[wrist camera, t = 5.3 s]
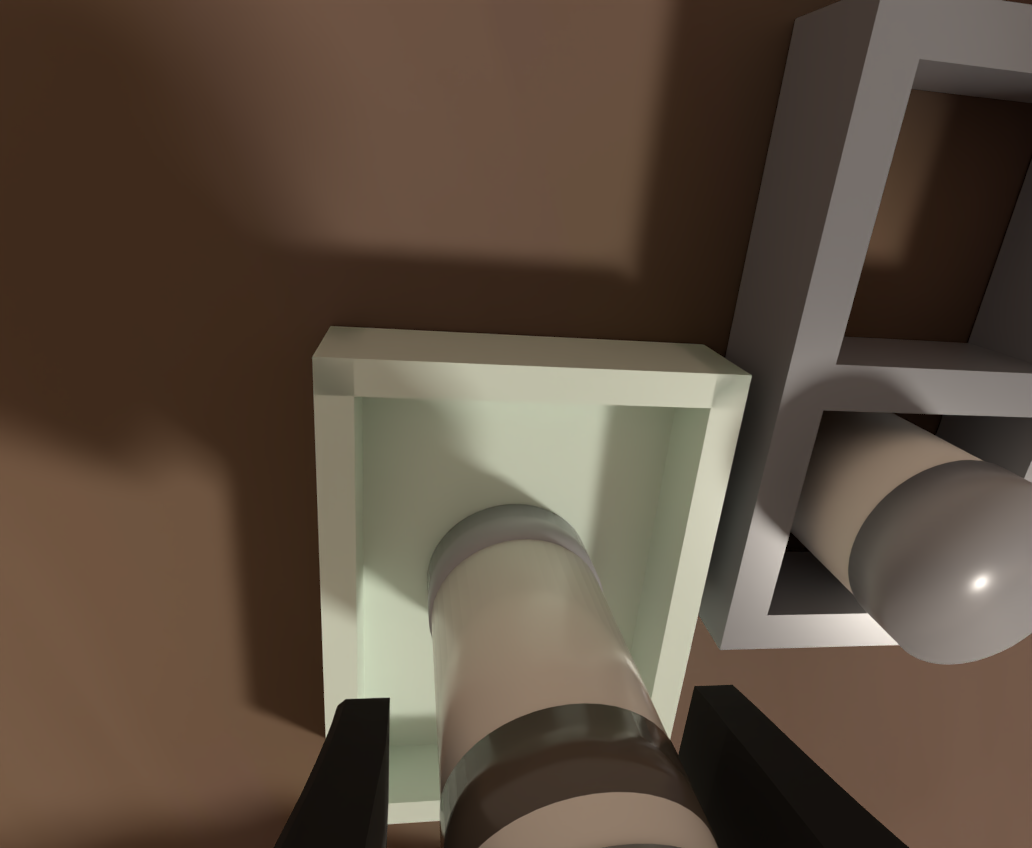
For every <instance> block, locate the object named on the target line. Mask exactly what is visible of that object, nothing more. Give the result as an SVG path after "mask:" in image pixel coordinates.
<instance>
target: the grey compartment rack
mask: <svg viewBox="0 0 1032 848" xmlns="http://www.w3.org/2000/svg"><path fill="white" fill-rule="evenodd" d="M911 89H916V90H924V91H933V92H941V93H950V94H958V95H966V96H975V97H983V98H991V99H1000V100H1008V101H1016V102H1025V103H1032V5H1030V4H1023V3H1016V2H1010V1H1003V0H841V1H838V2H836V3H833V4H831V5H828V6H826V7H823V8H821V9H818V10H816V11H813V12H811V13H808V14H806V15H803V16H801V17H798V18H796V19H795V23H794V28H793V33H792V38H791V43H790V47H789V52H788V57H787V62H786V67H785V72H784V76H783V81H782V86H781V91H780V96H779V101H778V105H777V110H776V115H775V120H774V125H773V129H772V134H771V139H770V144H769V149H768V154H767V158H766V163H765V168H764V173H763V178H762V182H761V187H760V192H759V197H758V202H757V207H756V211H755V216H754V221H753V226H752V231H751V236H750V240H749V245H748V250H747V255H746V260H745V264H744V269H743V274H742V279H741V284H740V289H739V293H738V298H737V303H736V308H735V313H734V317H733V322H732V327H731V332H730V337H729V342H728V346H727V351H726V356H725V358H726V359H727V360H729V361H730V362H732V363H733V364H735V365H737V366H738V367H740V368H741V369H743V370H744V371H746V372H748V373H749V374H751V375H752V378H751V382H750V387H749V391H748V396H747V400H746V404H745V409H744V413H743V418H742V422H741V427H740V431H739V435H738V440H737V444H736V449H735V453H734V458H733V462H732V466H731V471H730V475H729V480H728V484H727V489H726V493H725V498H724V502H723V506H722V511H721V515H720V520H719V524H718V529H717V533H716V537H715V542H714V546H713V551H712V555H711V560H710V564H709V568H708V573H707V577H706V582H705V586H704V591H703V595H702V599H701V604H700V608H699V613H698V615H699V616H700V618H701V620H702V621H703V623H704V625H705V626H706V628H707V630H708V631H709V633H710V634H711V636H712V638H713V639H714V641H715V643H716V644H717V646H718V648H719V649H720V650H732V649H768V648H805V647H841V646H877V645H900V646H901V647H902V648H903V649H904V650H905V651H906V652H908V653H909V654H910V655H912V656H914V657H916V658H918V659H920V660H923V661H927V662H930V663H936V664H962V663H968V662H973V661H977V660H980V659H984V658H987V657H990V656H992V655H995V654H997V653H999V652H1001V651H1003V650H1005V649H1007V648H1009V647H1011V646H1013V645H1015V644H1016V643H1018V642H1020V641H1021V640H1023V639H1024V638H1026V637H1027V636H1028V635H1030V634H1031V633H1032V160H1031V163H1030V166H1029V168H1028V171H1027V174H1026V177H1025V180H1024V183H1023V186H1022V189H1021V192H1020V194H1019V197H1018V200H1017V203H1016V206H1015V209H1014V212H1013V215H1012V217H1011V220H1010V223H1009V226H1008V229H1007V232H1006V235H1005V238H1004V241H1003V243H1002V246H1001V249H1000V252H999V255H998V258H997V261H996V264H995V266H994V269H993V272H992V275H991V278H990V281H989V284H988V287H987V289H986V292H985V295H984V298H983V301H982V304H981V307H980V310H979V313H978V315H977V318H976V321H975V324H974V327H973V330H972V333H971V336H970V338H969V341H968V343H958V342H939V341H921V340H902V339H883V338H864V337H845V336H844V333H845V330H846V326H847V322H848V319H849V315H850V311H851V308H852V304H853V300H854V297H855V293H856V289H857V286H858V282H859V278H860V275H861V271H862V267H863V264H864V260H865V256H866V253H867V249H868V245H869V242H870V238H871V235H872V231H873V227H874V224H875V220H876V216H877V213H878V209H879V205H880V202H881V198H882V194H883V191H884V187H885V183H886V180H887V176H888V172H889V169H890V165H891V161H892V158H893V154H894V150H895V147H896V143H897V139H898V136H899V132H900V129H901V125H902V121H903V118H904V114H905V110H906V107H907V103H908V99H909V96H910V92H911ZM894 413H914V414H943V416H942V419H941V422H940V425H939V428H938V431H937V434H936V436H935V435H933V434H931V433H930V432H928V431H926V430H924V429H922V428H920V427H918V426H916V425H914V424H912V423H911V422H909V421H907V420H905V419H903V418H901V417H899V416H897V415H895V414H894ZM790 532H791V533H792V534H793V535H794V536H795V537H796V538H797V539H798V540H799V541H800V542H801V543H802V544H803V545H804V546H805V547H806V548H807V549H808V550H809V551H810V552H785V549H786V545H787V542H788V538H789V534H790Z"/></svg>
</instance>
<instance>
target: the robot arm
mask: <svg viewBox="0 0 1032 848" xmlns="http://www.w3.org/2000/svg"><path fill="white" fill-rule="evenodd" d="M389 733H390V697H389V698H361V699H345V700H344V701H343V702H341V703H340V704H339V705H338V706H337V708H336V711H335V714H334V718H333V721H332V724H331V726H330V729H329V731H328V734H327V737H326V739H325V742H324V744H323V747H322V749H321V751H320V754H319V756H318V758H317V761H316V763H315V765H314V767H313V770H312V772H311V774H310V776H309V778H308V780H307V783H306V785H305V787H304V789H303V791H302V793H301V795H300V797H299V799H298V801H297V803H296V805H295V807H294V809H293V811H292V813H291V815H290V817H289V819H288V821H287V823H286V825H285V827H284V829H283V831H282V833H281V835H280V837H279V838H278V840H277V842H276V844H275V846H274V848H386V845H387V825H388V804H389ZM678 756H679V758H680V761H681V763H682V765H683V767H684V769H685V772H686V774H687V776H688V778H689V780H690V783H691V785H692V787H693V789H694V791H695V794H696V796H697V798H698V800H699V802H700V804H701V807H702V809H703V811H704V813H705V815H706V818H707V820H708V822H709V824H710V826H711V829H712V831H713V833H714V835H715V837H716V841H717V844H718V847H719V848H909V847H908V846H907V845H905V844H904V843H903V842H902V841H901V840H900V839H898V838H897V837H896V836H895V835H894V834H893V833H892V832H890V831H889V830H888V829H887V828H886V827H885V826H884V825H883V824H881V823H880V822H879V821H878V820H877V819H876V818H875V817H873V816H872V815H871V814H870V813H869V812H868V811H867V810H866V809H865V808H863V807H862V806H861V805H860V804H859V803H858V802H857V801H856V800H855V799H854V798H852V797H851V796H850V795H849V794H848V793H847V792H846V791H845V790H844V789H843V788H842V787H840V786H839V785H838V784H837V783H836V782H835V781H834V780H833V779H832V778H831V777H830V776H829V775H828V774H826V773H825V772H824V771H823V770H822V769H821V768H820V767H819V766H818V765H817V764H816V763H815V762H814V761H813V760H812V759H810V758H809V757H808V756H807V755H806V754H805V753H804V752H803V751H802V750H801V749H800V748H799V747H798V746H797V745H796V744H795V743H794V742H793V741H791V740H790V739H789V738H788V737H787V736H786V735H785V734H784V733H783V732H782V731H781V730H780V729H779V728H778V727H777V726H776V725H775V724H774V723H773V722H772V721H771V720H770V719H768V718H767V717H766V716H765V715H764V714H763V713H762V712H761V711H760V710H759V709H758V708H757V707H756V706H755V705H754V704H753V703H752V702H751V701H749V700H748V699H747V698H746V697H745V696H744V695H743V694H742V693H741V692H740V691H739V690H738V689H736V688H735V687H734V686H733V685H717V686H695V687H694V691H693V695H692V699H691V704H690V708H689V712H688V716H687V721H686V725H685V729H684V733H683V738H682V742H681V746H680V750H679V755H678Z"/></svg>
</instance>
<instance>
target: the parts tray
mask: <svg viewBox="0 0 1032 848" xmlns="http://www.w3.org/2000/svg"><path fill="white" fill-rule="evenodd" d="M312 366H313V395H314V423H315V451H316V479H317V508H318V536H319V564H320V592H321V621H322V649H323V677H324V705H325V734H326V737H327V734H328V731H329V729H330V726H331V724H332V721H333V718H334V714H335V711H336V708H337V706H338V705H339V704H340V703H341V702H343V701H344V700H345V699H361V698H389V697H390V733H389V804H388V824H398V823H413V822H428V821H440V818H439V811H440V786H439V765H438V745H437V724H436V704H435V684H434V663H433V643H432V636H431V633H430V628H429V617H428V594H427V572H428V566H429V562H430V559H431V557H432V554H433V552H434V550H435V548H436V546H437V545H438V543H439V542H440V541H441V539H442V538H443V537H444V536H445V534H446V533H447V532H448V531H449V530H450V529H451V528H452V527H454V526H455V525H456V524H457V523H459V522H460V521H462V520H463V519H465V518H466V517H468V516H470V515H472V514H474V513H476V512H478V511H481V510H484V509H486V508H490V507H494V506H498V505H506V504H525V505H532V506H536V507H540V508H543V509H546V510H549V511H551V512H553V513H555V514H557V515H558V516H560V517H561V518H563V519H564V520H565V521H567V522H568V523H569V524H570V525H571V526H572V527H573V528H574V529H575V531H576V532H577V534H578V535H579V537H580V538H581V540H582V542H583V544H584V547H585V549H586V551H587V553H588V555H589V557H590V560H591V562H592V564H593V566H594V568H595V570H596V573H597V575H598V577H599V579H600V582H601V585H602V590H603V594H604V597H605V599H606V601H607V603H608V605H609V608H610V610H611V612H612V614H613V617H614V619H615V621H616V623H617V625H618V628H619V630H620V632H621V634H622V636H623V639H624V641H625V643H626V645H627V647H628V650H629V652H630V654H631V656H632V658H633V661H634V663H635V665H636V667H637V669H638V672H639V674H640V676H641V678H642V680H643V683H644V685H645V687H646V689H647V692H648V694H649V696H650V698H651V700H652V703H653V705H654V707H655V709H656V711H657V714H658V716H659V718H660V720H661V722H662V725H663V727H664V729H665V731H666V733H667V736H668V738H669V739H670V737H671V733H672V728H673V724H674V719H675V715H676V710H677V706H678V701H679V697H680V693H681V688H682V684H683V679H684V675H685V670H686V666H687V662H688V657H689V653H690V648H691V644H692V639H693V635H694V631H695V626H696V622H697V617H698V613H699V608H700V604H701V599H702V595H703V591H704V586H705V582H706V577H707V573H708V568H709V564H710V560H711V555H712V551H713V546H714V542H715V537H716V533H717V529H718V524H719V520H720V515H721V511H722V506H723V502H724V498H725V493H726V489H727V484H728V480H729V475H730V471H731V466H732V462H733V458H734V453H735V449H736V444H737V440H738V435H739V431H740V427H741V422H742V418H743V413H744V409H745V404H746V400H747V396H748V391H749V387H750V382H751V378H752V375H751V374H749V373H748V372H746V371H744V370H743V369H741V368H740V367H738V366H737V365H735V364H733V363H732V362H730V361H729V360H727V359H726V358H724V357H723V356H721V355H719V354H718V353H716V352H715V351H713V350H712V349H710V348H708V347H707V346H705V345H704V344H687V343H666V342H646V341H626V340H606V339H585V338H565V337H545V336H524V335H504V334H484V333H463V332H443V331H423V330H403V329H382V328H362V327H342V326H330V328H329V329H328V331H327V333H326V334H325V336H324V338H323V340H322V341H321V343H320V345H319V346H318V348H317V350H316V351H315V353H314V355H313V356H312Z"/></svg>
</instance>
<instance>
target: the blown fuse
mask: <svg viewBox="0 0 1032 848" xmlns="http://www.w3.org/2000/svg"><path fill="white" fill-rule="evenodd" d="M427 594H428V617H429V628H430V633H431V636H432V643H433V663H434V684H435V704H436V724H437V745H438V765H439V786H440V811H439V818H440V839H441V848H719V847H718V844H717V841H716V837H715V835H714V833H713V831H712V829H711V826H710V824H709V822H708V820H707V818H706V815H705V813H704V811H703V809H702V807H701V804H700V802H699V800H698V798H697V796H696V794H695V791H694V789H693V787H692V785H691V783H690V780H689V778H688V776H687V774H686V772H685V769H684V767H683V765H682V763H681V761H680V758H679V756H678V754H677V752H676V750H675V748H674V746H673V744H672V742H671V740H670V739H669V738H668V736H667V733H666V731H665V729H664V727H663V725H662V722H661V720H660V718H659V716H658V714H657V711H656V709H655V707H654V705H653V703H652V700H651V698H650V696H649V694H648V692H647V689H646V687H645V685H644V683H643V680H642V678H641V676H640V674H639V672H638V669H637V667H636V665H635V663H634V661H633V658H632V656H631V654H630V652H629V650H628V647H627V645H626V643H625V641H624V639H623V636H622V634H621V632H620V630H619V628H618V625H617V623H616V621H615V619H614V617H613V614H612V612H611V610H610V608H609V605H608V603H607V601H606V599H605V597H604V594H603V590H602V585H601V582H600V579H599V577H598V575H597V573H596V570H595V568H594V566H593V564H592V562H591V560H590V557H589V555H588V553H587V551H586V549H585V547H584V544H583V542H582V540H581V538H580V537H579V535H578V534H577V532H576V531H575V529H574V528H573V527H572V526H571V525H570V524H569V523H568V522H567V521H565V520H564V519H563V518H561V517H560V516H558V515H557V514H555V513H553V512H551V511H549V510H546V509H543V508H540V507H536V506H532V505H525V504H506V505H498V506H494V507H490V508H486V509H484V510H481V511H478V512H476V513H474V514H472V515H470V516H468V517H466V518H465V519H463V520H462V521H460V522H459V523H457V524H456V525H455V526H454V527H452V528H451V529H450V530H449V531H448V532H447V533H446V534H445V536H444V537H443V538H442V539H441V541H440V542H439V543H438V545H437V546H436V548H435V550H434V552H433V554H432V557H431V559H430V562H429V566H428V572H427Z"/></svg>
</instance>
